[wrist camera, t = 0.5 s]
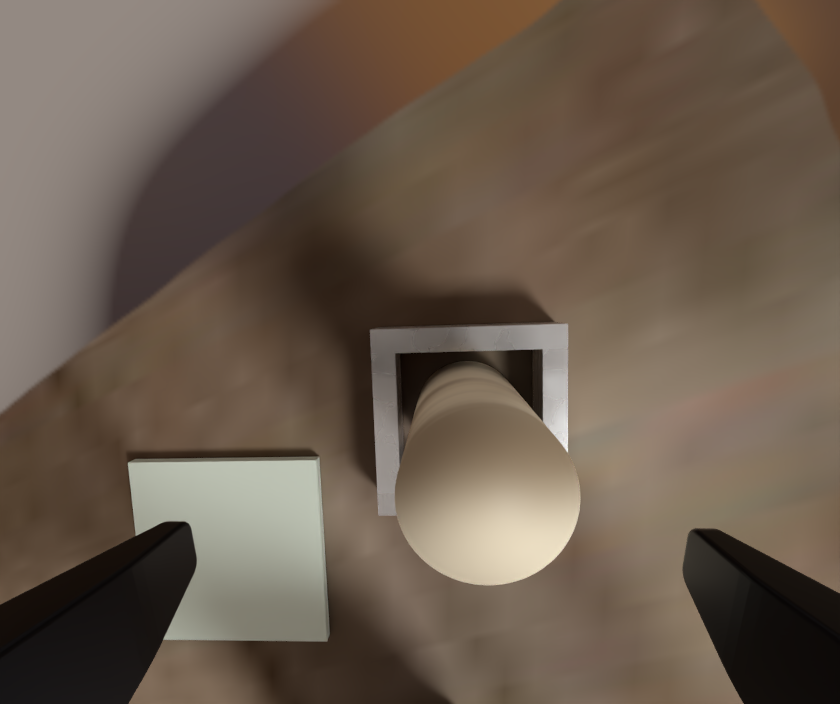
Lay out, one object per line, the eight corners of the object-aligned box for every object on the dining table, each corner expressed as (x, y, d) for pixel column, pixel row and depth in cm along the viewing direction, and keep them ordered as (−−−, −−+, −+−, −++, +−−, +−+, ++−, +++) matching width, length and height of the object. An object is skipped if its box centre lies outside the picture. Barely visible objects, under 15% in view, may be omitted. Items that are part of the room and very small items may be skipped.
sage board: (329, 633, 26) (327, 641, 25) (153, 631, 27) (147, 639, 26) (319, 456, 25) (316, 460, 24) (135, 459, 25) (127, 462, 25)
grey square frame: (554, 493, 24) (567, 514, 22) (385, 494, 25) (378, 515, 22) (554, 321, 23) (568, 323, 21) (377, 327, 24) (369, 329, 21)
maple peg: (518, 458, 24) (580, 585, 13) (418, 460, 24) (398, 584, 14) (517, 359, 24) (580, 406, 13) (415, 362, 24) (391, 409, 13)
